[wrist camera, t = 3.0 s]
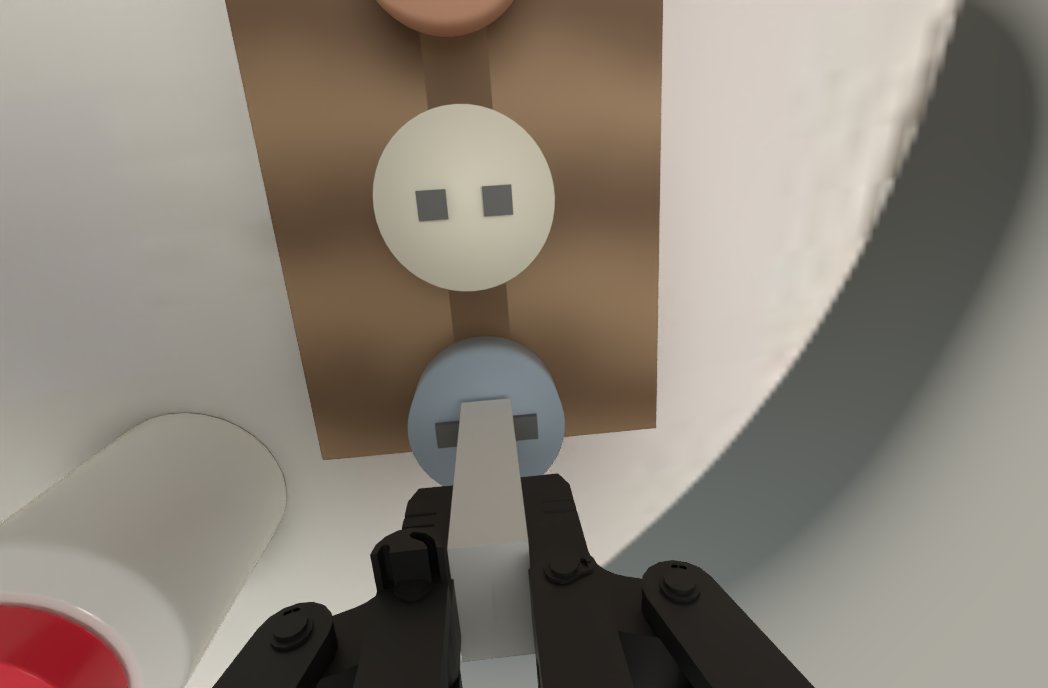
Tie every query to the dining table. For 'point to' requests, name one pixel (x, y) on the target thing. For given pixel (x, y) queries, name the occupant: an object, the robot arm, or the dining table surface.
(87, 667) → the pill bottle
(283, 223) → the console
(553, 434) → the button
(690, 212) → the dining table surface
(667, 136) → the dining table surface
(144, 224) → the dining table surface
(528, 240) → the button
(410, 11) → the button
